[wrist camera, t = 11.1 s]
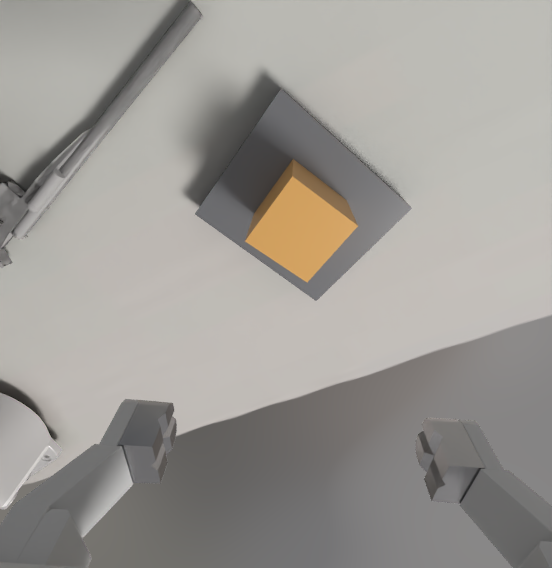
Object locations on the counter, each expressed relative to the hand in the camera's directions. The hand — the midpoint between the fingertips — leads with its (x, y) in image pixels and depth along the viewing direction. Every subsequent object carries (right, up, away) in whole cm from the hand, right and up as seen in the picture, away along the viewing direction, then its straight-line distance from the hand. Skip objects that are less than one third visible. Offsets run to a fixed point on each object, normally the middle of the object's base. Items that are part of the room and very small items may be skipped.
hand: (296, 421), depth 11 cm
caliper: (-20, +19, +17) cm, 32 cm away
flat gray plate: (+2, +12, +20) cm, 23 cm away
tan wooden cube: (+1, +11, +18) cm, 21 cm away
